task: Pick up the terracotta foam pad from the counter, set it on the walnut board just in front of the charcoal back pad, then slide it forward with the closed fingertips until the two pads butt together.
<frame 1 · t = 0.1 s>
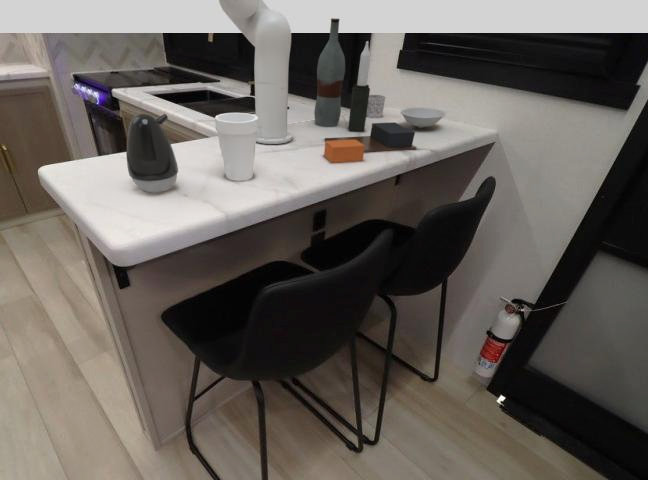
back pad: (390, 141, 116), resting on board
pump dispenser: (157, 189, 84), on the table
foam cup: (239, 176, 91), on the table
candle: (355, 130, 128), on the table
loose pad: (343, 158, 104), on the table
board: (369, 144, 115), on the table
bottle: (326, 124, 134), on the table
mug: (369, 116, 146), on the table
dish: (419, 128, 133), on the table
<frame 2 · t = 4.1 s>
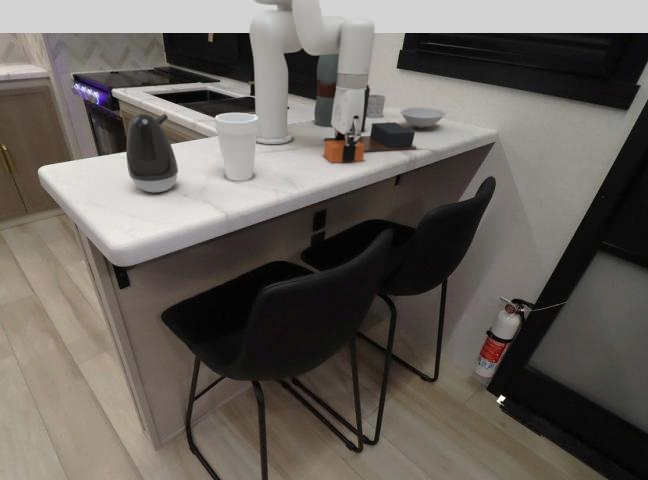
hand: (343, 156, 103), 1 cm above the table, tool pointing down, fingers closed on loose pad, 6 cm apart
loose pad: (343, 158, 103), on the table, touching gripper
everything else where it was.
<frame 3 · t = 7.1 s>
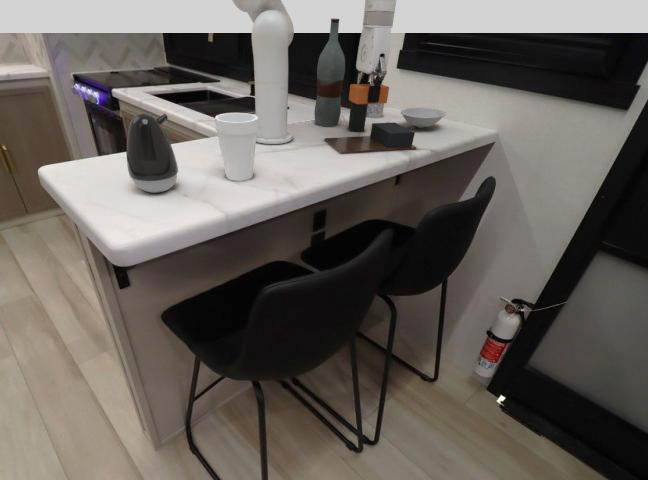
hand: (367, 99, 106), 13 cm above the table, tool pointing down, fingers closed on loose pad, 6 cm apart
loose pad: (367, 101, 106), point 12 cm above the table, touching gripper
everything else where it was.
when the fingers open (1 cm above the table, at t = 10.1 s): loose pad stays where it is, resting on board.
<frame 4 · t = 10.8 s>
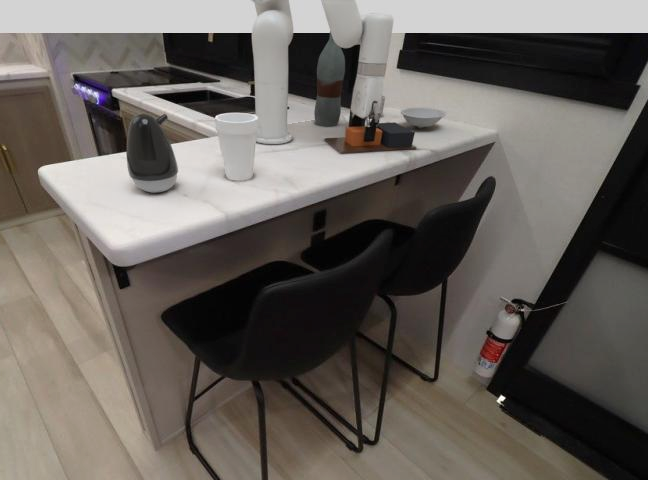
hand: (361, 136, 113), 2 cm above the table, tool pointing down, fingers open, 9 cm apart
loose pad: (362, 143, 114), point 1 cm above the table, touching board
everything else where it was.
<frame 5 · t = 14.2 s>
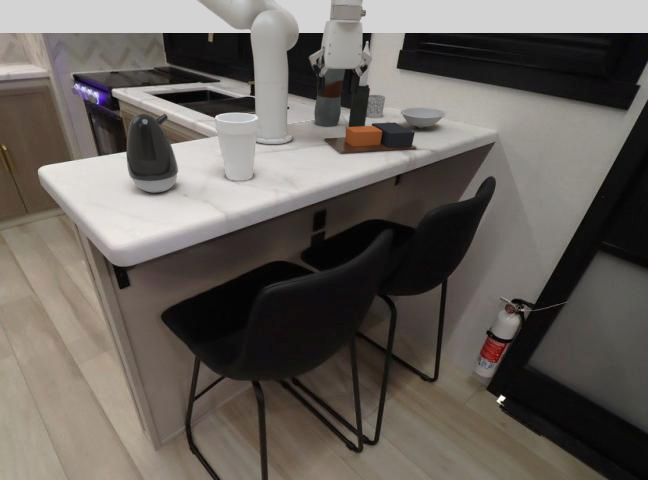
hand: (337, 93, 103), 14 cm above the table, tool pointing down, fingers open, 9 cm apart
nothing on the table moved.
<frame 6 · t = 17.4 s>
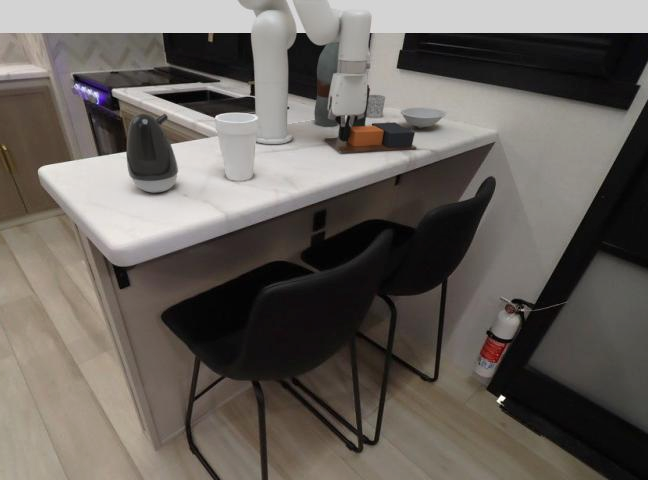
hand: (343, 140, 112), 2 cm above the table, tool pointing down, fingers closed
loose pad: (363, 142, 114), point 1 cm above the table, touching gripper
everything else where it was.
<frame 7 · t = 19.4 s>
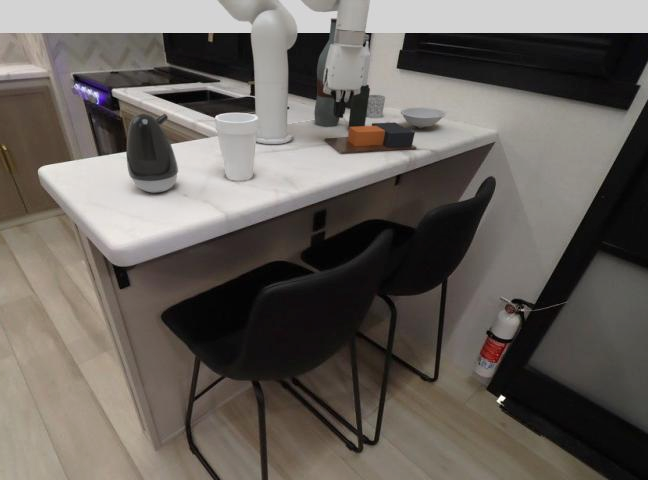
hand: (338, 116, 108), 8 cm above the table, tool pointing down, fingers closed
loose pad: (365, 142, 114), point 1 cm above the table, touching board
everything else where it was.
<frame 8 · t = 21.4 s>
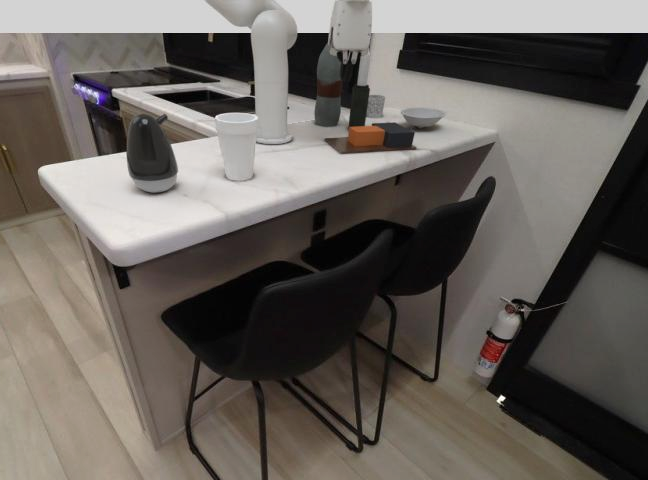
hand: (345, 80, 102), 17 cm above the table, tool pointing down, fingers closed
nothing on the table moved.
at the end: loose pad 0.3 cm from the target spot on the table beside the back pad, resting on board; loose pad tilted 0°; the gripper is holding nothing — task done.
